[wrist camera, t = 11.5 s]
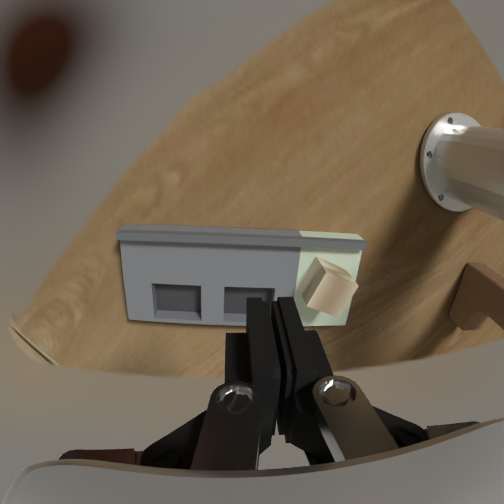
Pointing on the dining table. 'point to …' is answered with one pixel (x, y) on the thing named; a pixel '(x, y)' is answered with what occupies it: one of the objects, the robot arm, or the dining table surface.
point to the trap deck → (225, 271)
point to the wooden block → (478, 298)
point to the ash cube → (327, 287)
